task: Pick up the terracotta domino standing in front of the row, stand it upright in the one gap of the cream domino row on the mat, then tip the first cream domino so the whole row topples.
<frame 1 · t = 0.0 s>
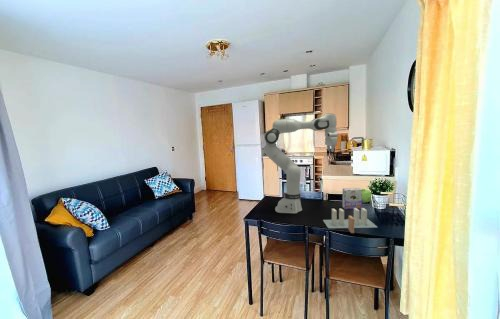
hand: (330, 151, 179), 48 cm above the table, fingers open, 8 cm apart
domino 5: (363, 223, 153), resting on mat
domino 4: (356, 223, 154), resting on mat
domino 1: (334, 223, 155), resting on mat
domino 2: (341, 223, 154), resting on mat
mat: (348, 224, 154), on the table
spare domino: (351, 232, 142), on the table
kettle: (363, 201, 199), on the table
candy box: (352, 208, 184), on the table
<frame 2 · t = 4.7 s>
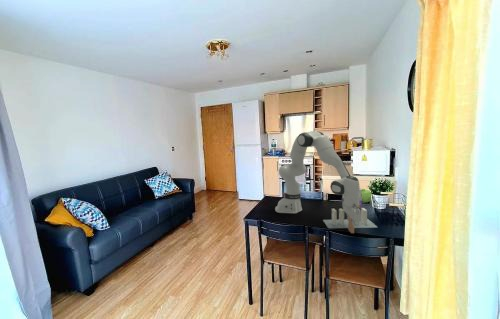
hand: (351, 222, 142), 6 cm above the table, fingers closed on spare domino, 5 cm apart
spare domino: (351, 232, 142), on the table, touching gripper
everything else where it was.
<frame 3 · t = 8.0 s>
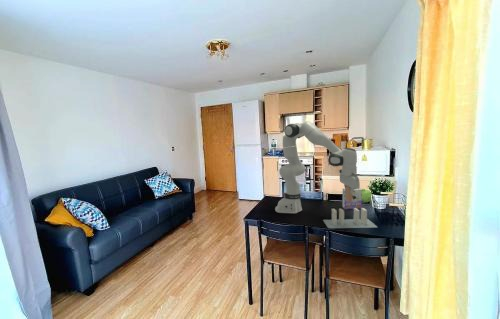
hand: (349, 192, 151), 23 cm above the table, fingers closed on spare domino, 5 cm apart
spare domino: (349, 200, 152), point 17 cm above the table, touching gripper
everything else where it was.
when the fingers open (7 cm above the table, at t = 11.4 s): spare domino stays where it is, resting on mat.
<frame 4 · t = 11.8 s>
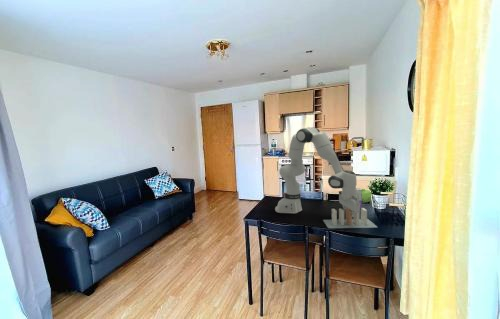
hand: (348, 213, 153), 7 cm above the table, fingers open, 8 cm apart
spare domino: (348, 223, 154), resting on mat
everything else where it was.
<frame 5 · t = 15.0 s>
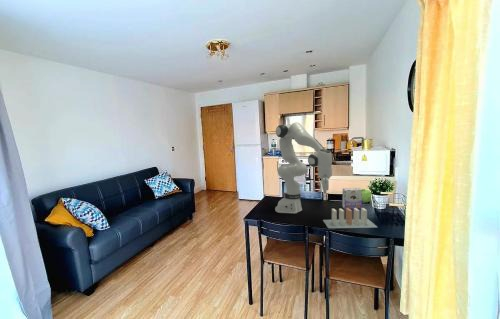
hand: (324, 193, 153), 23 cm above the table, fingers closed
nothing on the table moved.
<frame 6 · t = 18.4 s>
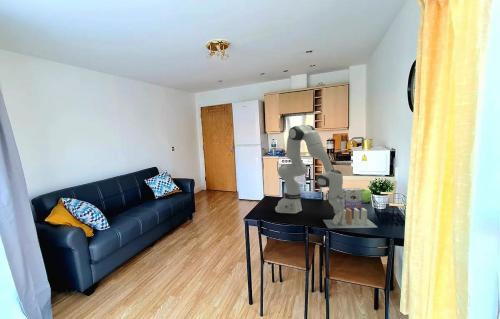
hand: (335, 213, 153), 8 cm above the table, fingers closed
domino 1: (334, 223, 155), point 1 cm above the table, tilted 26°, touching mat
domino 2: (341, 223, 154), point 1 cm above the table, tilted 7°, touching mat
everything else where it was.
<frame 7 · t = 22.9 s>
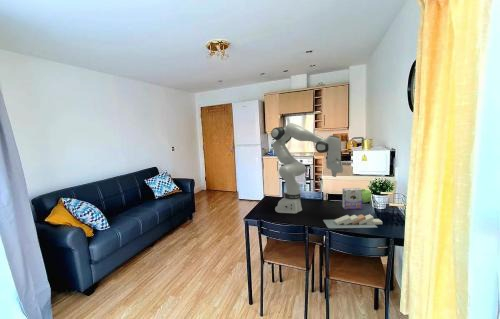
hand: (334, 176, 163), 31 cm above the table, fingers closed
domino 5: (365, 221, 153), point 1 cm above the table, tilted 90°, touching domino 4, mat
domino 4: (357, 222, 153), point 1 cm above the table, tilted 69°, touching domino 5, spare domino
domino 1: (335, 222, 154), point 1 cm above the table, tilted 69°, touching domino 2, mat
domino 2: (342, 222, 154), point 1 cm above the table, tilted 69°, touching domino 1, mat, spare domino
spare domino: (350, 222, 154), point 1 cm above the table, tilted 69°, touching domino 2, domino 4, mat
everything else where it was.
at the end: domino 5 tilted 90°; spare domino tilted 69°; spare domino inside the target area (1.0 cm from its centre), point 1.4 cm above the table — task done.
